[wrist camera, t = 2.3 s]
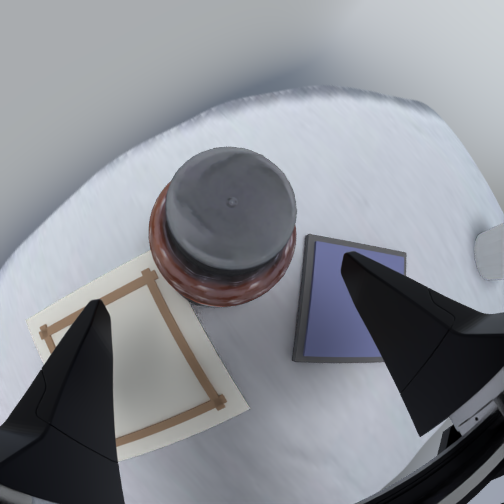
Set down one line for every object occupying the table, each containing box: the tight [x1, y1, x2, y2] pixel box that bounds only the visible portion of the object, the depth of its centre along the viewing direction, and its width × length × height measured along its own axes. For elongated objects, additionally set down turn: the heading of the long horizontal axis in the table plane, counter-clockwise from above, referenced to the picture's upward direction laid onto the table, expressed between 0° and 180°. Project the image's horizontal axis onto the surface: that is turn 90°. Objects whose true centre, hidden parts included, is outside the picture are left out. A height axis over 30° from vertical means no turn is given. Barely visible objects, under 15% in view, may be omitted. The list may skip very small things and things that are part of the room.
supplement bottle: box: [149, 147, 297, 308], centre depth 13 cm, size 6×6×11 cm
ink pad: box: [292, 234, 406, 363], centre depth 20 cm, size 9×9×1 cm
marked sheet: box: [26, 250, 250, 462], centre depth 16 cm, size 13×13×1 cm
